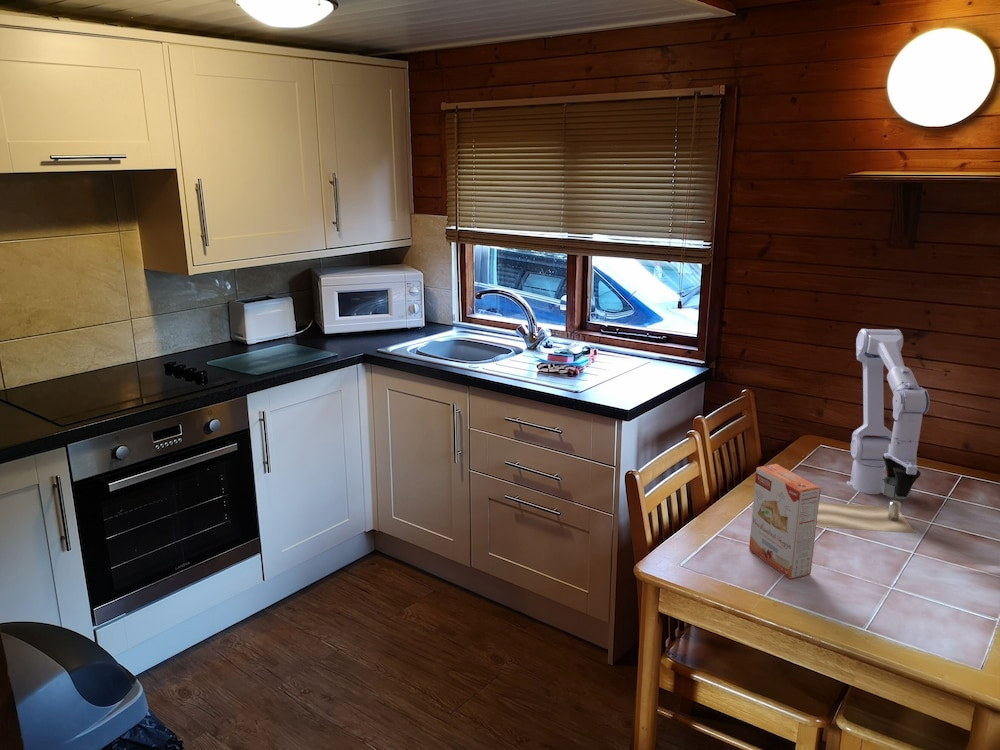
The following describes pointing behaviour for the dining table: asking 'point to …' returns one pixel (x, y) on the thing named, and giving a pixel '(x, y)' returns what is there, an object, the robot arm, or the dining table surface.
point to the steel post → (894, 510)
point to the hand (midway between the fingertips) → (897, 490)
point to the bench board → (860, 518)
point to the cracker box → (784, 520)
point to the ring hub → (891, 488)
